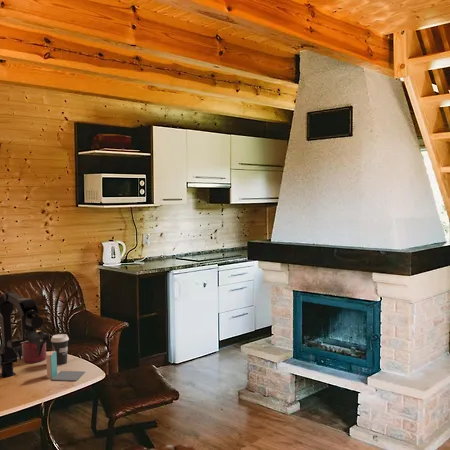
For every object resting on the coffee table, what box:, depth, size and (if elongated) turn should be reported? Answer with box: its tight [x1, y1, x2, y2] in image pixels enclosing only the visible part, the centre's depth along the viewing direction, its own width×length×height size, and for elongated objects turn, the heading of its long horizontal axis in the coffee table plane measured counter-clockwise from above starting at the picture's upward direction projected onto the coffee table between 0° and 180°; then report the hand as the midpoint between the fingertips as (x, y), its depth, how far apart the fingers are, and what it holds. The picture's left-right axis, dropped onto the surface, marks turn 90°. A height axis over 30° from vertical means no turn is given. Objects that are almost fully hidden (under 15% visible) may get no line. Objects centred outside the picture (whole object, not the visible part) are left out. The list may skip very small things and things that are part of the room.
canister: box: [20, 329, 48, 364], centre depth 299 cm, size 13×13×18 cm
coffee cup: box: [50, 333, 70, 366], centre depth 293 cm, size 10×10×15 cm
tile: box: [45, 350, 58, 379], centre depth 273 cm, size 2×6×12 cm, turn 174°
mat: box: [50, 370, 86, 382], centre depth 273 cm, size 13×12×1 cm
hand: (29, 357), depth 256 cm, fingers open, 9 cm apart
